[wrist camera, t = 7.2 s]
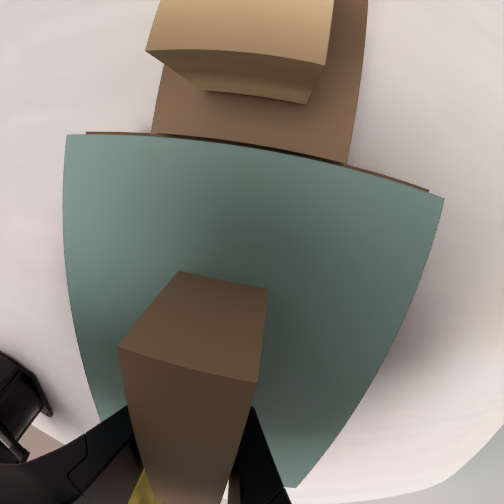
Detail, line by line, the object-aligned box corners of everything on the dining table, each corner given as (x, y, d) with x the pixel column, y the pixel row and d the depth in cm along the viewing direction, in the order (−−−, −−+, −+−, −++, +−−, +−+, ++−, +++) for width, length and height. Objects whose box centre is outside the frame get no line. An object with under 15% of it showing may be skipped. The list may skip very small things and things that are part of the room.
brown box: (296, 431, 16) (296, 485, 12) (136, 395, 16) (110, 442, 12) (407, 52, 8) (457, 18, 4) (160, 16, 9) (114, -27, 5)
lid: (296, 464, 13) (294, 537, 8) (121, 424, 14) (88, 487, 9) (417, 189, 8) (533, 234, 3) (98, 135, 8) (-24, 140, 3)
